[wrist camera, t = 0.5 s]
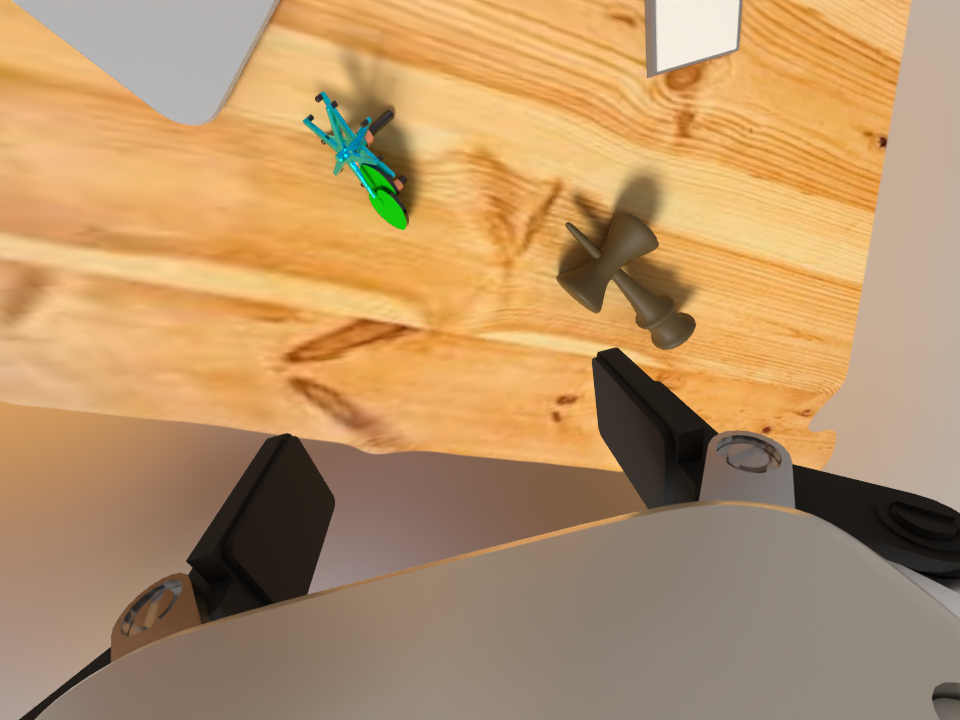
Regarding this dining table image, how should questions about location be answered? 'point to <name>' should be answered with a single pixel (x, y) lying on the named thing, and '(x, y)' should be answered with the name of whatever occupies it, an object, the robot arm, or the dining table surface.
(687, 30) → the track board
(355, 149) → the stick construction toy
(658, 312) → the kendama
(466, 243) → the dining table surface
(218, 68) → the tablet
